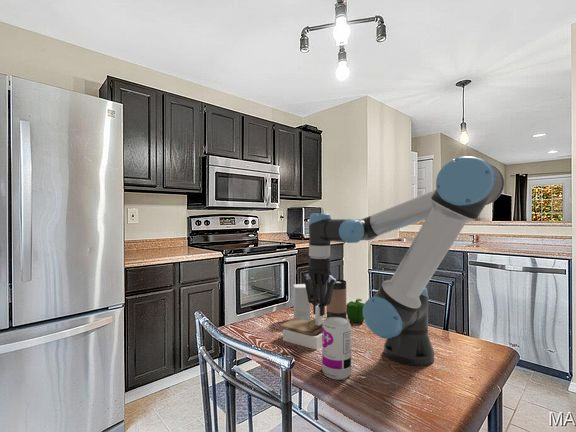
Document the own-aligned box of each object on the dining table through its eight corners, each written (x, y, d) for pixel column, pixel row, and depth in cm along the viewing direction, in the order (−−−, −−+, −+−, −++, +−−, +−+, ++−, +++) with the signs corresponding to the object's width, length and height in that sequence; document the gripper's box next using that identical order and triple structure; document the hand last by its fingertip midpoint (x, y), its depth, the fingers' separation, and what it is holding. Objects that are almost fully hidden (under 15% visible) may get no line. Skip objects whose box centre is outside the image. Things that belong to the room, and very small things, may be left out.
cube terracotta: (320, 339, 113) (320, 331, 113) (318, 342, 110) (318, 334, 110) (312, 338, 114) (312, 330, 114) (309, 341, 111) (309, 333, 111)
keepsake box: (330, 341, 112) (330, 329, 112) (317, 350, 104) (317, 337, 104) (298, 333, 120) (298, 321, 120) (283, 341, 112) (283, 329, 112)
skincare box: (310, 324, 130) (310, 287, 130) (294, 325, 129) (294, 287, 129) (307, 318, 138) (307, 283, 138) (292, 318, 138) (292, 283, 138)
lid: (327, 327, 113) (327, 316, 113) (313, 335, 105) (313, 324, 105) (294, 319, 121) (294, 310, 121) (279, 327, 113) (279, 316, 113)
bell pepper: (342, 320, 136) (342, 297, 136) (356, 317, 140) (356, 294, 140) (354, 325, 129) (354, 301, 129) (369, 322, 133) (369, 299, 133)
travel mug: (350, 334, 119) (350, 282, 119) (332, 337, 116) (332, 283, 116) (339, 328, 126) (339, 278, 126) (323, 330, 123) (323, 279, 123)
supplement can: (328, 382, 84) (329, 326, 84) (318, 368, 92) (318, 317, 92) (356, 378, 86) (356, 324, 86) (343, 365, 94) (343, 315, 94)
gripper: (341, 257, 109) (340, 324, 109) (309, 254, 116) (308, 317, 116) (331, 259, 103) (330, 331, 103) (298, 256, 110) (297, 323, 110)
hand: (318, 324), depth 110 cm, fingers closed
